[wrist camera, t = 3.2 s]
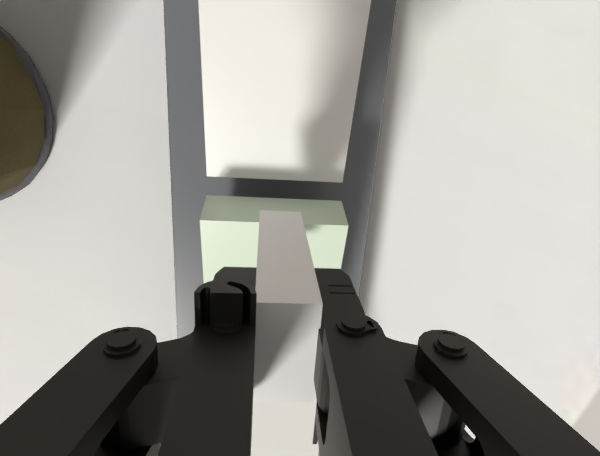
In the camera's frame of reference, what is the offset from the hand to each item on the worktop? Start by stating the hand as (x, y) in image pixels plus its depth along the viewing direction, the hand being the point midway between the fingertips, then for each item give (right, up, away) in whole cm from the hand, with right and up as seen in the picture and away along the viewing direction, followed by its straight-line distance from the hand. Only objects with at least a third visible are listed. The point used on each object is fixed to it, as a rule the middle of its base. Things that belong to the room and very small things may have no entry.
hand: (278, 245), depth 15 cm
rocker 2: (0, +8, +2) cm, 8 cm away
